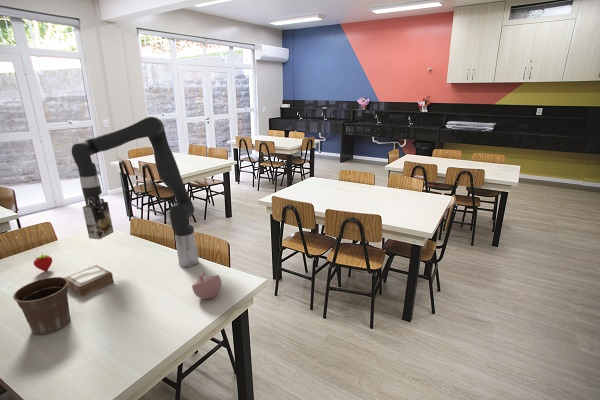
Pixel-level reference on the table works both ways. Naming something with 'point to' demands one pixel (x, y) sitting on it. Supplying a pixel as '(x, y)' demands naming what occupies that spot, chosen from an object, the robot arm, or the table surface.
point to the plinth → (89, 280)
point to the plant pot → (45, 304)
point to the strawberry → (43, 262)
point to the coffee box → (97, 222)
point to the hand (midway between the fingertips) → (98, 217)
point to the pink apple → (207, 286)
